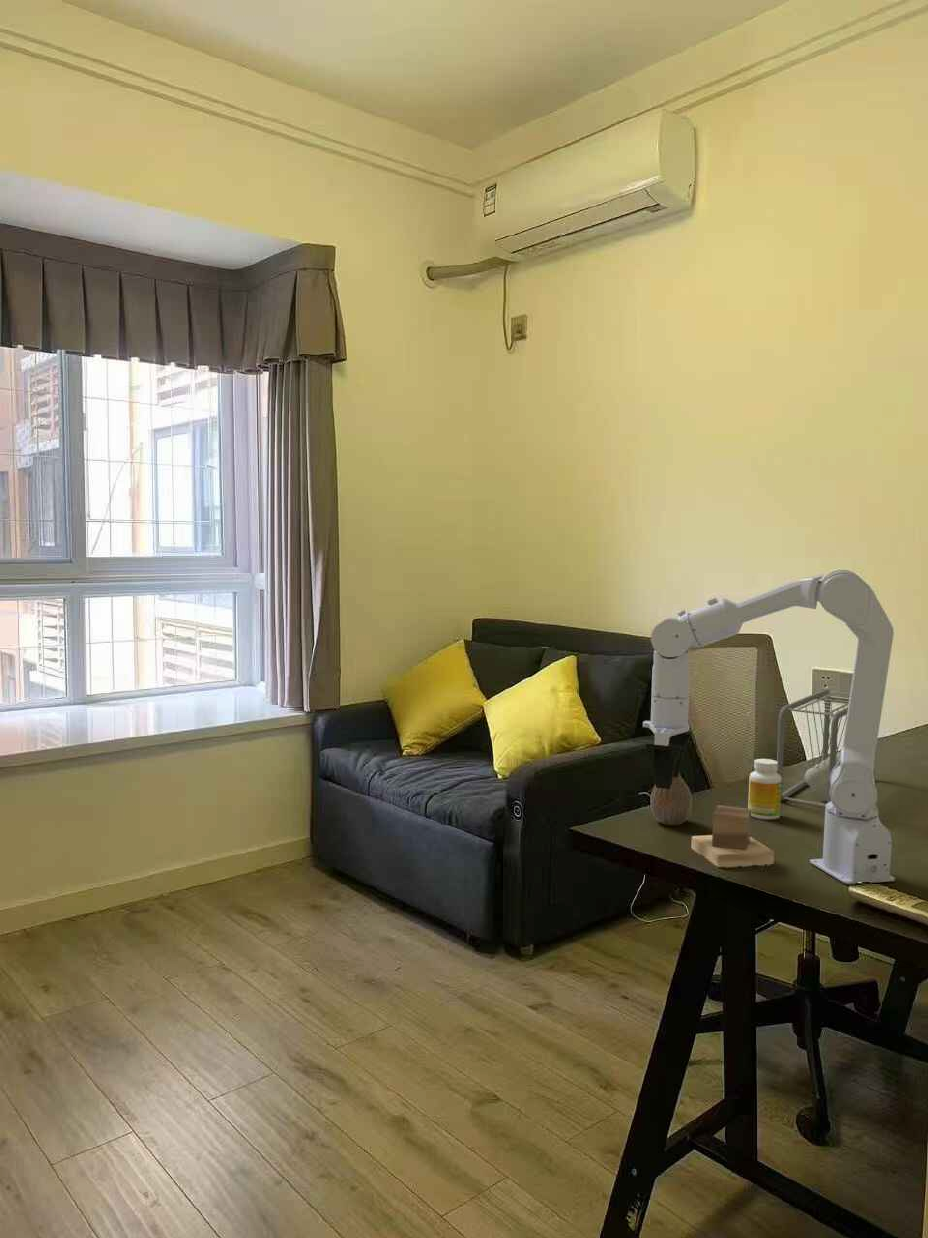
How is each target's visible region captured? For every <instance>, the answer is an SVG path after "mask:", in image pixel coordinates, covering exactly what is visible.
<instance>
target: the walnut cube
mask: <svg viewBox="0 0 928 1238" xmlns="http://www.w3.org/2000/svg"><path fill="white" fill-rule="evenodd" d="M712 815H713V818H712V835H713V836H712V846H718V847H726V848H733V849H741V850H746V849H747V847H748V844H749V842H750V837H751V825H752V824H751V822H752V821H751V820H752V816H751V809H748V808H744V807H736V806H727V805H721V804H719V805H717V806H716V807H715V810H714V811H713V814H712Z"/></svg>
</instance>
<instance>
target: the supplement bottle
mask: <svg viewBox="0 0 928 1238" xmlns="http://www.w3.org/2000/svg"><path fill="white" fill-rule="evenodd" d="M753 761H754V762H753V763H754V764H753V768H754V770H753V771H752V772H750V775H749V781H748V801H747V809H751V818H756V819H758V820H776V819H779V818H780V816H781V803H782V801H781V783H782V784H783V777H782V778H781V776H780V775H779V774H778V773H776V771H777V770H778V762H777V760H774V759H770V758H757V759H754V760H753Z"/></svg>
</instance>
